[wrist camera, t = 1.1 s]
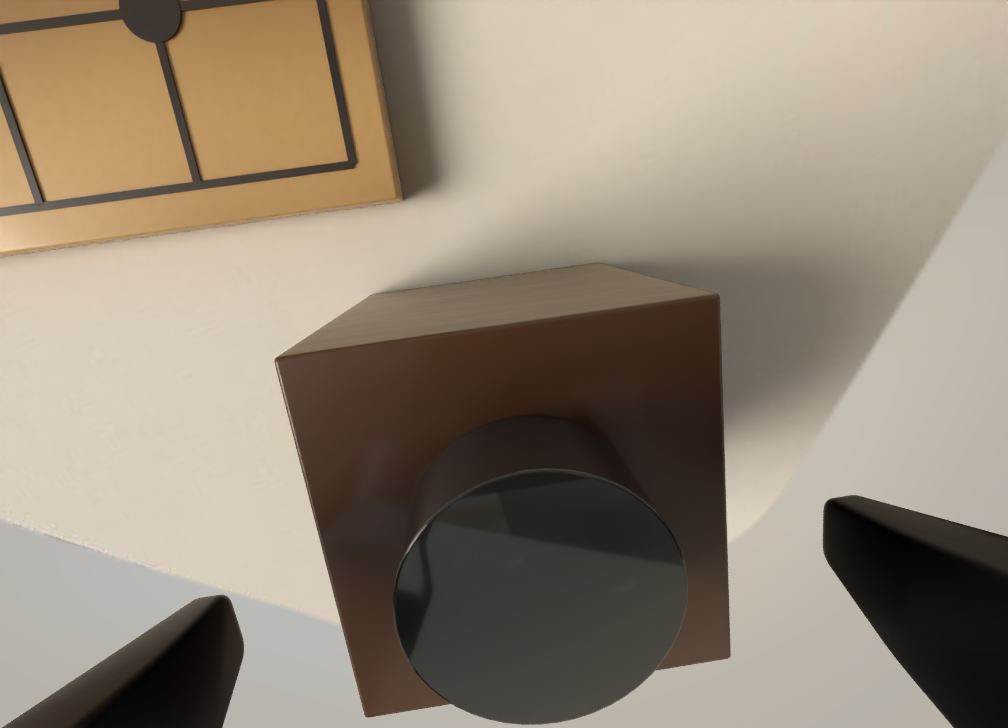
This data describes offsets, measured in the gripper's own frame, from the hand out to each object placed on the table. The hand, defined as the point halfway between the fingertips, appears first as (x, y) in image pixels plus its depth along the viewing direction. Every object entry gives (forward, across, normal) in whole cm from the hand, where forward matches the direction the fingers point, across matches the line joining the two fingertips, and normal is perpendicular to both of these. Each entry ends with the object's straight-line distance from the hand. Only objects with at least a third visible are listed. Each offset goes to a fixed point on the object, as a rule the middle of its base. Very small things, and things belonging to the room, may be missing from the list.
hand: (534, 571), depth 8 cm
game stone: (+1, 0, 0) cm, 1 cm away
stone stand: (+9, 0, 0) cm, 9 cm away
